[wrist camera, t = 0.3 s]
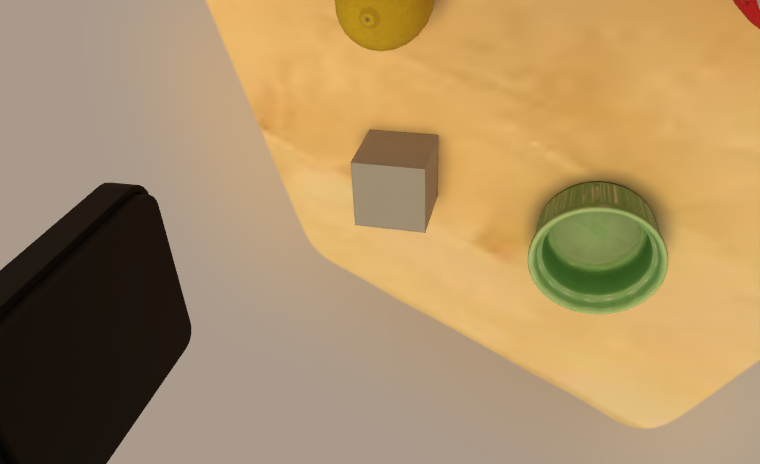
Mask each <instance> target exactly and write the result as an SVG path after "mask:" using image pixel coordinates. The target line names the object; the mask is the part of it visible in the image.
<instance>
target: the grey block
mask: <svg viewBox="0 0 760 464" xmlns="http://www.w3.org/2000/svg"><path fill="white" fill-rule="evenodd" d="M351 175H352V189H353V202H354V216H355V225H360V226H368V227H377V228H386V229H395V230H404V231H413V232H422V233H425V231H426V228H427V226H428V223H429V220H430V217H431V214H432V211H433V208H434V205H435V202H436V199H437V196H438V135H432V134H420V133H407V132H394V131H381V130H369V132H368V133H367V135H366V137H365V139H364V140H363V142H362V144H361V146H360V147H359V149H358V151H357V152H356V154H355V156H354V158H353V159H352V161H351Z"/></svg>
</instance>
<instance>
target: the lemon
mask: <svg viewBox="0 0 760 464" xmlns="http://www.w3.org/2000/svg"><path fill="white" fill-rule="evenodd" d="M433 4H434V0H335V5H336V14H337V17H338V20H339V23H340V25H341V27H342V28H343V30H344V32H345V33H346V34H347V35H348V37H349V38H350V39H351V40H352V41H354V42H355V43H357V44H358V45H360V46H361V47H364V48H367V49H370V50H375V51H387V50H393V49H396V48H399V47H401V46H403V45H406V44H407V43H409V42H410V41H411V40H413V39H414V38H415V37H416V36H417V35H419V33H420V32H421V31H422V29H423V28H424V27H425V25H426V24H427V22H428V20H429V18H430V15H431V12H432V10H433Z"/></svg>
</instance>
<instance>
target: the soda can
mask: <svg viewBox="0 0 760 464" xmlns="http://www.w3.org/2000/svg"><path fill="white" fill-rule="evenodd" d="M733 1H734V3H735V4H736V6H737V7H738V8H739V9H740V10H741V12H742V13H743V14H744V15H745V16H746V17H747V19H748V20H749V21H750V22H751V23H753V24H754V25H755V26H756V27H758V28H759V29H760V0H733Z"/></svg>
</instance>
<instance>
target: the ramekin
mask: <svg viewBox="0 0 760 464" xmlns="http://www.w3.org/2000/svg"><path fill="white" fill-rule="evenodd" d="M528 267H529V272H530V275H531V277H532V279H533V281H534V283H535V284H536V286H537V287H538V289H539V290H540V291H541V292H542V293H543V294H544V295H545V296H546V297H548V298H549V299H550V300H552V301H553V302H555V303H556V304H558V305H560V306H562V307H564V308H567V309H570V310H573V311H577V312H581V313H587V314H611V313H617V312H621V311H625V310H628V309H630V308H633V307H635V306H637V305H639V304H641V303H642V302H644V301H646V300H647V299H648V298H650V297H651V296H652V295H653V294H654V293H655V292H656V291H657V289H658V288H659V287H660V286H661V284H662V282H663V280H664V278H665V276H666V273H667V268H668V253H667V248H666V245H665V243H664V240H663V238H662V236H661V234H660V233H659V231H658V228H657V224H656V221H655V218H654V216H653V213H652V211H651V210H650V208H649V207H648V205H647V204H646V203H645V202H644V200H643V199H641V198H640V197H639V196H638V195H637V194H635V193H634V192H632V191H630V190H628V189H626V188H624V187H622V186H619V185H615V184H611V183H602V182H591V183H584V184H580V185H576V186H573V187H571V188H568V189H566V190H565V191H563V192H561V193H560V194H558V195H557V196H555V197H554V198H553V199H552V200H551V201H550V202H549V203H548V204H547V206H546V207H545V209H544V210H543V212H542V214H541V217H540V220H539V223H538V226H537V230H536V233H535V235H534V237H533V239H532V241H531V244H530V247H529V251H528Z"/></svg>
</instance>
